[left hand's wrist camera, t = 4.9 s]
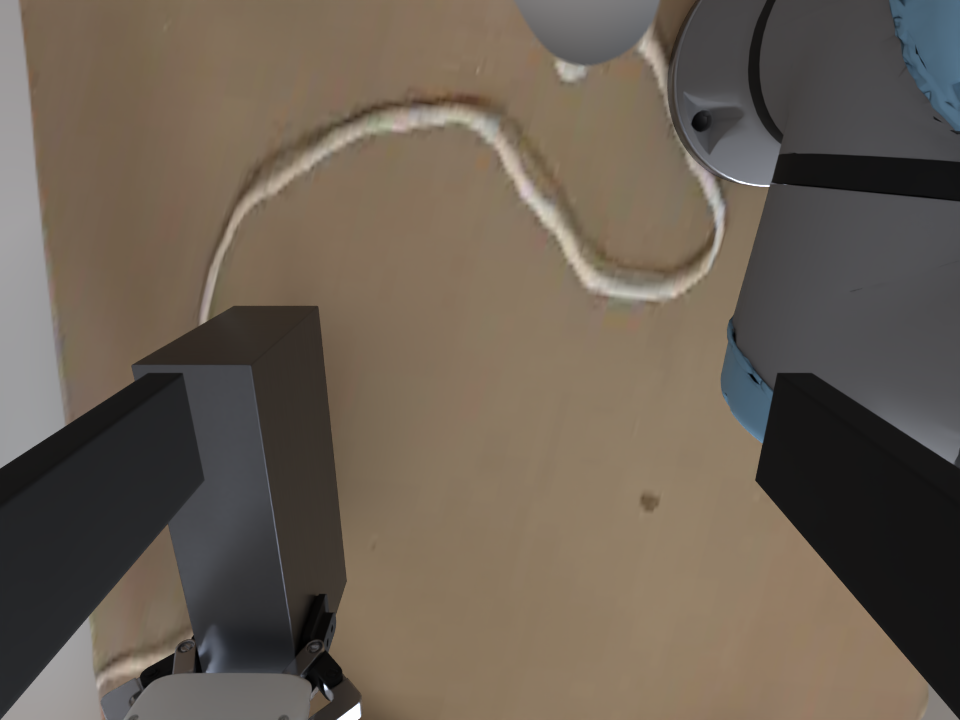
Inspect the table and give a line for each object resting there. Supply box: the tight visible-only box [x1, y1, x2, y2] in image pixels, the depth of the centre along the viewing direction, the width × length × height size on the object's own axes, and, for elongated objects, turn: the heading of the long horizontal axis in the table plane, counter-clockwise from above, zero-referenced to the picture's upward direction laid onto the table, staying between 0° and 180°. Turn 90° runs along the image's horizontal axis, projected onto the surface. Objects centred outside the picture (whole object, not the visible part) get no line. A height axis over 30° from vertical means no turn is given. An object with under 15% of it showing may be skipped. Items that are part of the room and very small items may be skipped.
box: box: [132, 306, 347, 674], centre depth 38 cm, size 25×6×12 cm, turn 0°
